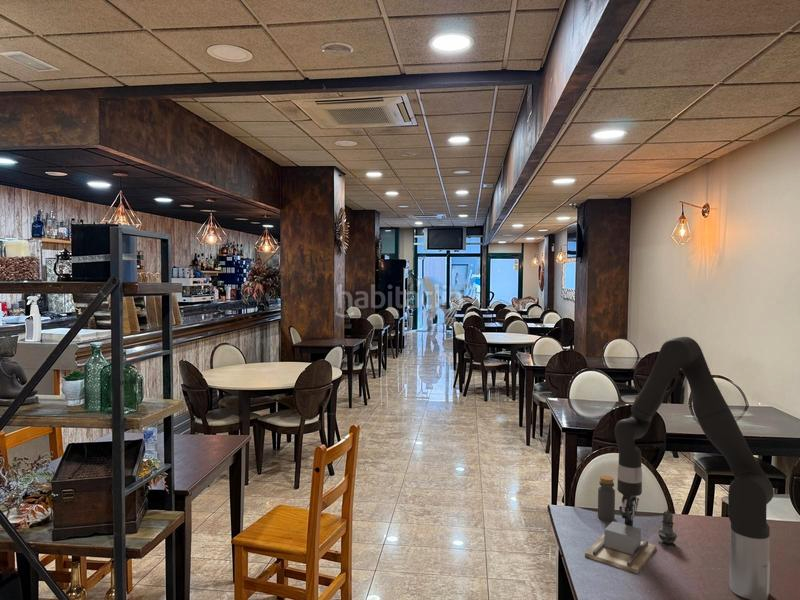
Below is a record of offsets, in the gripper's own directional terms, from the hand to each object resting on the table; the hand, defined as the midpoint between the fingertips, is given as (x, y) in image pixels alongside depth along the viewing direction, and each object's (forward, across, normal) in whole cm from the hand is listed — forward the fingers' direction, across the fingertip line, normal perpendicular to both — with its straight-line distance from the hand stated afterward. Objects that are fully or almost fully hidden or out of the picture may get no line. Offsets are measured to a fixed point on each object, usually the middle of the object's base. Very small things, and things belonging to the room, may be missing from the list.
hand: (628, 529), depth 182 cm
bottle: (+5, +16, +13) cm, 22 cm away
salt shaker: (+5, +9, -10) cm, 14 cm away
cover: (+3, -6, 0) cm, 7 cm away
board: (+5, -8, 0) cm, 9 cm away
